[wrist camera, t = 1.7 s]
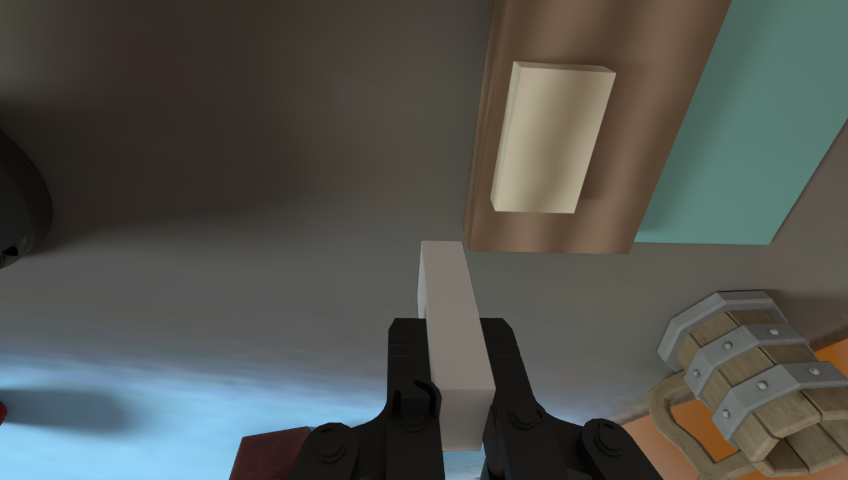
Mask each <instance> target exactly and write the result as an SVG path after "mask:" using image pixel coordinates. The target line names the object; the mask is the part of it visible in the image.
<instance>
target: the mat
mask: <svg viewBox="0 0 848 480" xmlns="http://www.w3.org/2000/svg"><path fill="white" fill-rule="evenodd" d="M847 118H848V0H732V2H731V4H730V7H729V9H728V12H727V14H726V17H725V19H724V22H723V24H722V27H721V29H720V31H719V34H718V36H717V39H716V41H715V44H714V46H713V49H712V51H711V53H710V56H709V58H708V61H707V63H706V66H705V68H704V71H703V73H702V76H701V78H700V80H699V83H698V85H697V88H696V90H695V93H694V95H693V98H692V100H691V102H690V105H689V107H688V110H687V112H686V115H685V117H684V120H683V122H682V124H681V127H680V129H679V132H678V134H677V137H676V139H675V142H674V144H673V147H672V149H671V151H670V154H669V156H668V159H667V161H666V164H665V166H664V169H663V171H662V173H661V176H660V178H659V181H658V183H657V186H656V188H655V191H654V193H653V195H652V198H651V200H650V203H649V205H648V208H647V210H646V213H645V215H644V218H643V220H642V222H641V225H640V227H639V230H638V232H637V235H636V237H635V240H634V242H662V243H706V244H750V245H769V244H770V242H771V240H772V239H773V237H774V236H775V234H776V232H777V231H778V229H779V228H780V226H781V224H782V223H783V221H784V220H785V218H786V216H787V215H788V213H789V212H790V210H791V208H792V207H793V205H794V204H795V202H796V200H797V199H798V197H799V195H800V194H801V192H802V191H803V189H804V187H805V186H806V184H807V183H808V181H809V179H810V178H811V176H812V175H813V173H814V171H815V170H816V168H817V167H818V165H819V163H820V162H821V160H822V159H823V157H824V155H825V154H826V152H827V151H828V149H829V147H830V146H831V144H832V143H833V141H834V139H835V138H836V136H837V135H838V133H839V131H840V130H841V128H842V126H843V125H844V123H845V122H846V120H847Z"/></svg>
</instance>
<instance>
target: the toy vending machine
mask: <svg viewBox="0 0 848 480" xmlns="http://www.w3.org/2000/svg"><path fill="white" fill-rule="evenodd" d="M310 432H311V431H310V429H309V428H308V427H300V428H294V429H288V430H282V431H276V432H270V433H264V434H258V435H252V436H246V437H243V438H242V440H241V443H240V446H239V449H238V452H237V456H236V459H235V462H234V465H233V468H232V471H231V474H230V478H229V480H287V478H288V476H289V474H290V472H291V469H292V467H293V465H294V463H295V460H296V458H297V456H298V454H299V452H300V449H301V447H302V445H303V443H304V441H305V439H306V438H307V437H308V435H309V434H310Z"/></svg>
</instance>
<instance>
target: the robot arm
mask: <svg viewBox="0 0 848 480" xmlns="http://www.w3.org/2000/svg"><path fill="white" fill-rule="evenodd" d="M50 222H51V206H50V201H49V197H48V194H47V191H46V189H45V186H44V184H43V182H42V180H41V178H40V177H39V175H38V173H37V172H36V170H35V169H34V167H33V166H32V164H31V163H30V162H29V161H28V159H27V158H26V157H25V156H24V155H23V154H22V152H21V151H20V150H19V149H18V148H17V147H16V146H15V145H14V144H13V143H12V142H11V141H10V140H9V139H8V138H6V137H5V136H4V135H3V134H2V133H1V132H0V269H2V268H5V267H7V266H9V265H11V264H13V263H14V262H16V261H18V260H19V259H20V258H22V257H23V256H24V255H26V254H27V253H28V252H29V251H31V250H32V249H33V248H34V247H36V246H37V245H38V244H39V243H40V242H41V241H42V240H43V239H44V237H45V236H46V234H47V232H48V230H49V226H50ZM418 311H419V318H395V319H394V321H393V323H392V325H391V326H390V328H389V332H388V370H387V401H386V405H385V407H384V409H383V410H382V412H381V413H380V414H379V415H378V416H377V417H376V418H374V419H373V420H371V421H369V422H367V423H365V424H362V425H359V426H356V427H353V428H350V427H349V426H347V425H344V424H342V423H331V422H330V423H327V424H323V425H320V426H318V427H317V428H316V429H314V430H313V431H312V432H310V434H309V435H308V437H307V438H306V439H305V441H304V443H303V445H302V447H301V449H300V452H299V454H298V456H297V458H296V460H295V463H294V465H293V467H292V469H291V472H290V474H289V476H288V478H287V480H445V472H444V462H443V452H444V451H481V447H482V443H483V444H484V449H485V455H486V458H485V462H484V466H483V470H482V473H481V477H480V480H663V479H662V477H661V476H660V475H659V473H658V472H657V471H656V469H655V468H654V466H653V465H652V464H651V462H650V461H649V460H648V458H647V457H646V456H645V454H644V453H643V452H642V450H641V449H640V448H639V446H638V445H637V444H636V442H635V441H634V439H633V438H632V437H631V436H630V435H629V434H628V433H627V431H626V430H625V429H624V428H622V427H621V426H619V425H618V424H616V423H614V422H613V421H610V420H606V419H603V418H599V419H592V420H590V421H588V422H586V423H585V425H584V427H583V426H580V425H576V424H573V423H569V422H566V421H563V420H560V419H557V418H555V417H553V416H551V415H550V414H548V413H547V412H546V411H545V409H544V408H543V407H542V406H541V405H540V404H539V403H538V402H537V401H536V400H535V397H534V395H533V392H532V389H531V386H530V383H529V380H528V377H527V373H526V370H525V367H524V364H523V361H522V358H521V356H520V351H519V348H518V345H517V342H516V339H515V336H514V332H513V330H512V328H511V327H510V326H509V325H508V324H507V323H506V321H505V320H504V319H503V318H479V315H478V311H477V306H476V302H475V298H474V294H473V289H472V285H471V281H470V276H469V272H468V268H467V264H466V259H465V255H464V251H463V246H462V242H451V241H422V244H421V257H420V270H419V283H418Z"/></svg>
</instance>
